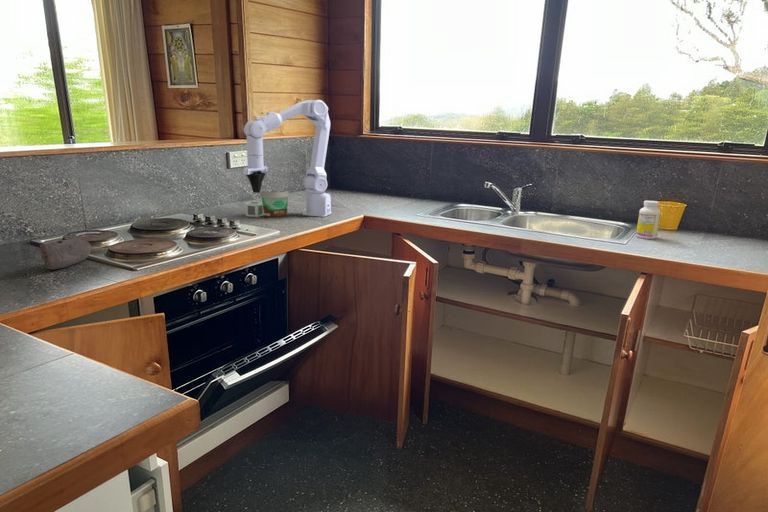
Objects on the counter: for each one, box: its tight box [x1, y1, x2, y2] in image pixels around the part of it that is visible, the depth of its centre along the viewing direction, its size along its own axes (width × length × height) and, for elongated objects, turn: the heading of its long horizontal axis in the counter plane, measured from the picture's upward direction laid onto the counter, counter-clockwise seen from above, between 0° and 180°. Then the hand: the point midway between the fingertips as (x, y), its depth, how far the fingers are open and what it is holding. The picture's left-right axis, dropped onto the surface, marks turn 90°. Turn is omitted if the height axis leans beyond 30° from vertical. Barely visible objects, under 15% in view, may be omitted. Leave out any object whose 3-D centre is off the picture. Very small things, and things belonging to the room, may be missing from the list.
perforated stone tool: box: [39, 238, 92, 271], centre depth 135 cm, size 15×5×7 cm, turn 163°
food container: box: [259, 189, 291, 219], centre depth 203 cm, size 12×6×10 cm, turn 135°
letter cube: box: [244, 201, 264, 218], centre depth 205 cm, size 5×5×5 cm
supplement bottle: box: [635, 200, 661, 240], centre depth 184 cm, size 7×7×13 cm
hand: (256, 192), depth 194 cm, fingers closed
